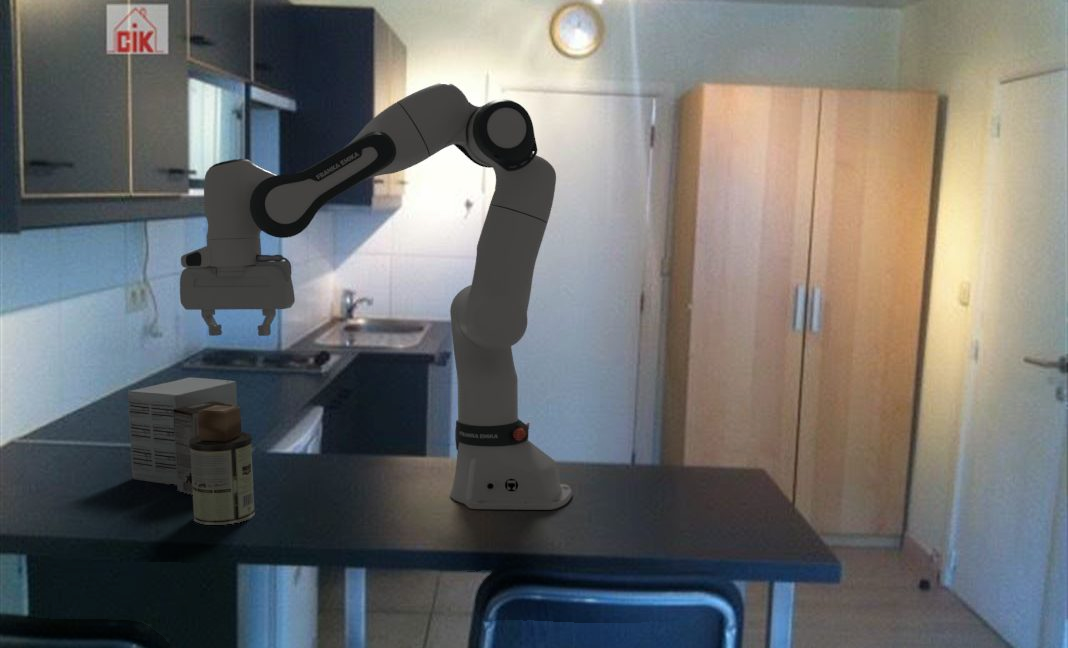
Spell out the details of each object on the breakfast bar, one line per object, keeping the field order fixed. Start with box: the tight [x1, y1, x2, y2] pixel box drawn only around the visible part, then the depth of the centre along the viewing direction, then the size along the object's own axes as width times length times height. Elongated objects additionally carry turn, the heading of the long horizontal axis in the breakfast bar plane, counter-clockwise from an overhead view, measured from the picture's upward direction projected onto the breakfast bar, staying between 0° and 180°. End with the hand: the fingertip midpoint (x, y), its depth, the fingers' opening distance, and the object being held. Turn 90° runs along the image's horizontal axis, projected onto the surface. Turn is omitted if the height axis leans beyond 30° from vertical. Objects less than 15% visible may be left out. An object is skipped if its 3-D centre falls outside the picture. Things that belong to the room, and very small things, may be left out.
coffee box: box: [173, 401, 232, 496], centre depth 184 cm, size 9×6×16 cm
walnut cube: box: [198, 405, 242, 442], centre depth 166 cm, size 5×5×5 cm
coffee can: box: [189, 431, 256, 526], centre depth 167 cm, size 10×10×14 cm
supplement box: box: [126, 377, 238, 486], centre depth 196 cm, size 17×13×18 cm
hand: (239, 335), depth 167 cm, fingers open, 8 cm apart
